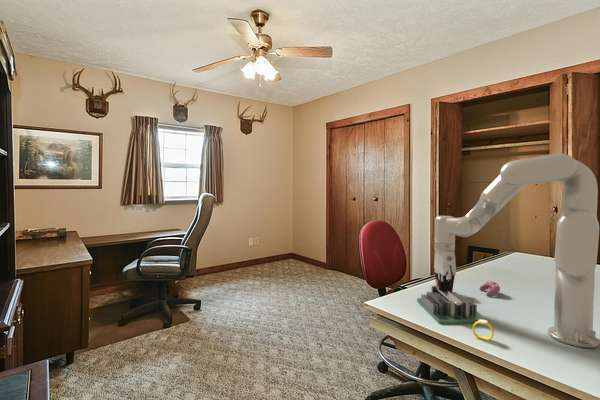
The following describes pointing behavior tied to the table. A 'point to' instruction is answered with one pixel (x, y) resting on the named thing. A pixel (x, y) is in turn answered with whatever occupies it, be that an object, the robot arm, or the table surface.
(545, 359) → the table surface
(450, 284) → the coffee mug
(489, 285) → the video game controller
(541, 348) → the table surface
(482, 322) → the watch
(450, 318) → the heat sink base
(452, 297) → the steel strap
